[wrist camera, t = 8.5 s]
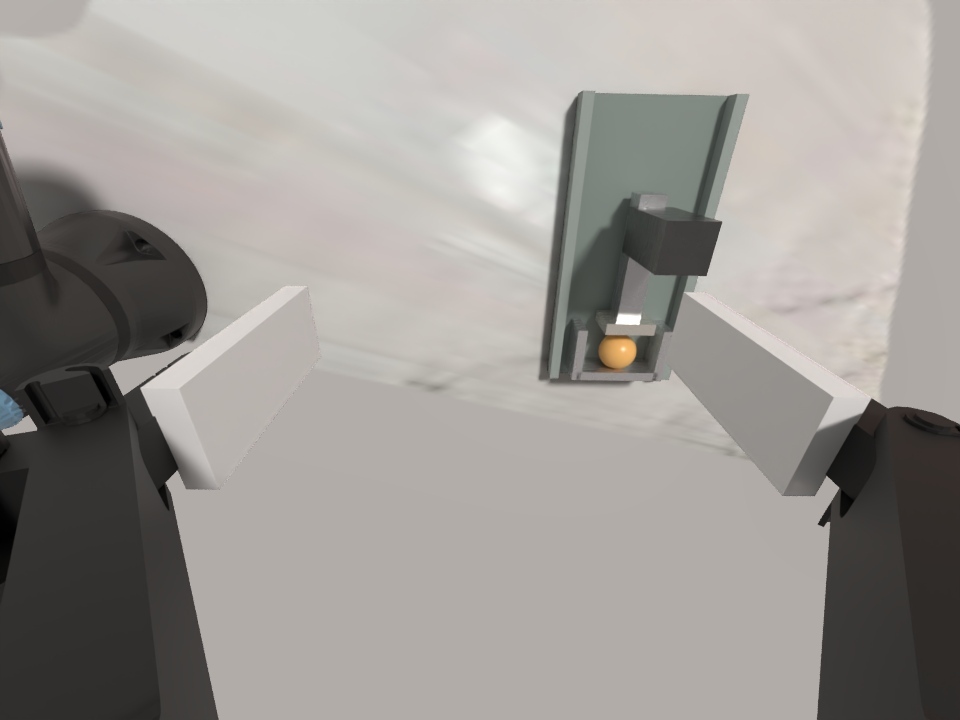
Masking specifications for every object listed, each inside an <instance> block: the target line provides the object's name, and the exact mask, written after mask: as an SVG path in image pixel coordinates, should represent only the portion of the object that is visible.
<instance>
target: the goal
mask: <svg viewBox="0 0 960 720" xmlns="http://www.w3.org/2000/svg"><path fill="white" fill-rule="evenodd" d="M652 321H653V322H654V323H655V324H656V325H657V326H656V330H655V334H654V336H648V338H647V343H646V347H645V351H644V355H643V359H634V360H633V362H632V363H631V364H630V365H628V366H626V367H624V368H621V369H614V368H610V367H608V366H606V365H605V364H604V363H603V362H602V361H601V359H600V358H584V355H585V348H586V342H587V336H588V330H587V328H586V326H585V325H584V323H583V321H582V320H581V319H580V318H572V322H571V329H570V337H569V344H568V351H567V359H566V367H567V370H568V373H569V375H570V378H571V380H608V381H661V378H662V375H663V371H664V367H665V364H666V362H665V360H666V356H667V352H668V349H669V345H670V341H671V337H672V334H673V331H672V330H671V329H670V328H669V327H668V326H667V325H666V324H665V323H664V322H663V321H662V320H652Z"/></svg>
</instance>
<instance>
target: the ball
mask: <svg viewBox="0 0 960 720" xmlns="http://www.w3.org/2000/svg"><path fill="white" fill-rule="evenodd" d="M598 353H599V357H600V359H601V361H602V362H603V363H604V364H605V365H606V366H608V367H610V368H614V369H621V368H624V367H626V366H628V365H630V364H631V363H632V362H633V360H634V359H635V356H636V345H635V343H634V341H633V340H632V339H631V338H630V337H629V336H628V335H608V336H606V337H605V338H604V339H603V340H602V341H601V343H600V345H599V350H598Z"/></svg>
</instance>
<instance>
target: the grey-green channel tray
mask: <svg viewBox="0 0 960 720" xmlns="http://www.w3.org/2000/svg"><path fill="white" fill-rule="evenodd" d="M748 98H749V94H735V95H730V96H707V95H658V94H609V93H595V91H582V92H580V93H579V94H578V99H577V108H576V117H575V126H574V135H573V144H572V153H571V162H570V171H569V180H568V189H567V198H566V207H565V216H564V225H563V234H562V243H561V251H560V260H559V269H558V278H557V287H556V296H555V305H554V314H553V323H552V332H551V341H550V350H549V359H548V368H547V371H548V374H549V377H550V378H559V372H561V373H568V370H567V367H566V359H567V351H568V344H569V337H570V329H571V322H572V318H580V319H581V320H582V321H583V323H584V325H585V326H586V328H587V330H588V336H587V342H586V348H585V355H584V358H600V357H599V353H598V350H599V345H600V343H601V341H602V340H603V339H604V338H605V337H606V336H608V335H605V334H604V332H603V331H602V329H601V328H600V326H599V325H598V323H597V322H596V320H595V318H596V312H597V310H610V309H611V304H612V298H613V293H614V287H615V282H616V276H617V271H618V265H619V260H620V254H621V249H622V243H623V238H624V233H625V227H626V222H627V216H628V211H629V205H630V200H631V194H632V192H655V193H661V194H665V195H668V197H667V202H666V206H665V207H675V208H678V209H682V210H685V211H688V212H692V213H695V214H698V215H702V216H705V217H708V218H712V219H714V218H715V214H716V211H717V207H718V204H719V200H720V197H721V193H722V190H723V186H724V183H725V179H726V175H727V172H728V168H729V165H730V161H731V158H732V154H733V151H734V147H735V144H736V140H737V137H738V133H739V129H740V126H741V122H742V119H743V115H744V112H745V108H746V105H747V101H748ZM697 278H698V276H676V275H654V274H652V273H650V278H649V282H648V287H647V291H646V296H645V300H644V305H643V309H642V311H643V312H644V313H645V314H646V315H647V316H648V317H649V318H650V319H651V320H662V321H663V322H664V323H665V324H666V325H667V326H668V327H669V328H670V329H671V330H672V331H673V330H674V326H675V323H676V319H677V315H678V312H679V308H680V304H681V300H682V297H683V293H684V292H694V289H695V285H696V282H697ZM628 336H629V337H630V338H631V339H632V340H633V341H634V343H635V345H636V356H635V359H643V355H644V351H645V347H646V343H647V338H648V336H646V335H628ZM671 370H672V369H671V368H670V367H669V365H668V364H667V363H666V364H665V367H664V371H663V375H662V378H661V380H669V377H670V374H671Z"/></svg>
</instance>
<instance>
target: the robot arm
mask: <svg viewBox="0 0 960 720" xmlns="http://www.w3.org/2000/svg"><path fill="white" fill-rule="evenodd" d="M0 129H3V127H2V124H1V122H0ZM206 309H207V300H206V293H205V289H204V285H203V282H202V280H201V277H200V275H199V273H198V271H197V269H196V268H195V266H194V264H193V263H192V261H191V260H190V259H189V257H188V256H187V255H186V253H185V252H184V251H183V250H182V249H181V248H180V247H179V246H178V245H177V244H176V243H175V242H174V241H173V240H172V239H171V238H170V237H168V236H167V235H166V234H165V233H163V232H162V231H160V230H159V229H158V228H156V227H154V226H153V225H151V224H149V223H147V222H145V221H143V220H141V219H139V218H137V217H134V216H131V215H128V214H125V213H121V212H116V211H108V210H96V211H89V212H83V213H77V214H72V215H68V216H65V217H62V218H60V219H58V220H56V221H54V222H52V223H51V224H49V225H48V226H47V227H45V228H44V229H42V230H41V231H39V232H38V233H36V232H35V229H34V226H33V223H32V220H31V217H30V215H29V212H28V209H27V206H26V203H25V200H24V197H23V194H22V191H21V189H20V186H19V183H18V180H17V177H16V174H15V171H14V168H13V166H12V163H11V160H10V157H9V154H8V151H7V148H6V145H5V143H4V140H3V137H2V134H1V131H0V720H218V715H217V710H216V705H215V701H214V696H213V691H212V686H211V682H210V677H209V672H208V668H207V663H206V658H205V653H204V648H203V644H202V639H201V634H200V629H199V625H198V620H197V615H196V610H195V606H194V601H193V596H192V591H191V587H190V582H189V577H188V572H187V568H186V563H185V558H184V553H183V549H182V544H181V540H180V535H179V530H178V525H177V520H176V516H175V511H174V506H173V501H172V497H171V493H170V491H169V489H168V487H167V485H166V483H165V482H166V481H167V480H168V479H169V478H170V477H171V476H172V475H173V474H174V473H175V472H176V471H177V470H178V472H179V474H180V476H181V479H182V481H183V483H184V485H185V487H186V489H212V490H220V489H221V487H222V486H223V485H224V483H225V482H226V481H227V479H228V478H229V477H230V475H231V474H232V473H233V472H234V470H235V469H236V467H237V466H238V465H239V463H240V462H241V461H242V460H243V458H244V457H245V456H246V454H247V453H248V452H249V450H250V449H251V447H253V445H254V444H255V443H256V441H257V440H258V439H259V437H260V436H261V435H262V433H263V432H264V431H265V429H266V428H267V427H268V426H269V424H270V423H271V422H272V420H273V419H274V418H275V416H276V415H277V414H278V412H279V411H280V410H281V408H282V407H283V406H284V405H285V403H286V402H287V401H288V399H289V398H290V397H291V395H292V394H293V393H294V391H295V390H296V389H297V388H298V386H299V385H300V383H301V382H302V381H303V380H304V378H305V377H306V376H307V374H308V373H309V372H310V370H311V369H312V368H313V367H314V365H315V364H316V363H317V361H318V360H319V359H320V357H321V354H320V349H319V344H318V338H317V333H316V328H315V323H314V318H313V313H312V308H311V303H310V298H309V292H308V287H307V286H284V287H283V288H281V289H280V290H279V291H277V292H276V293H274V294H273V295H271V296H270V297H269V298H267V299H266V300H264V301H263V302H262V303H260V304H259V305H257V306H256V307H254V308H253V309H252V310H250V311H249V312H247V313H246V314H245V315H243V316H242V317H240V318H239V319H237V320H236V321H235V322H233V323H232V324H230V325H229V326H228V327H226V328H225V329H223V330H222V331H220V332H219V333H218V334H216V335H215V336H213V337H212V338H210V339H209V340H208V341H206V342H205V343H203V344H202V345H201V346H199V347H198V348H196V349H195V350H193V351H191V352H189V353H187V354H184V355H182V356H180V357H179V358H178V359H176V360H175V361H173V362H172V363H170V364H169V365H168V367H165V368H163V369H162V370H160V371H159V372H157V373H156V376H152V377H150V378H149V379H147V380H146V381H144V382H143V383H142V384H140V385H139V386H137V387H136V388H134V389H133V390H131V391H130V392H129V393H127V394H126V395H124V396H123V395H122V393H121V391H120V389H119V387H118V385H117V383H116V381H115V379H114V376H113V374H112V372H111V370H110V369H109V366H111V365H112V364H114V363H116V362H117V361H122V360H127V359H132V358H137V357H142V356H147V355H152V354H157V353H162V352H165V351H168V350H170V349H173V348H175V347H177V346H178V345H180V344H182V343H183V342H185V341H186V340H188V339H189V338H191V337H192V336H193V335H194V334H195V333H196V332H197V331H198V330H199V329H200V327H201V325H202V323H203V321H204V318H205V315H206ZM665 362H666V363H667V364H668V365H669V367H670V368H671V369H672V370H673V371H674V372H675V373H676V375H677V376H678V377H679V378H680V379H681V380H682V381H683V383H684V384H685V385H686V386H687V387H688V388H689V389H690V391H691V392H692V393H693V394H694V395H695V396H696V397H697V399H698V400H699V401H700V402H701V403H702V404H703V405H704V407H705V408H706V409H707V410H708V411H709V412H710V413H711V415H712V416H713V417H714V418H715V419H716V420H717V421H718V423H719V424H720V425H721V426H722V427H723V428H724V429H725V431H726V432H727V433H728V434H729V435H730V436H731V438H732V439H733V440H734V441H735V442H736V443H737V444H738V446H739V447H740V448H741V449H742V450H743V451H744V452H745V454H746V455H747V456H748V457H749V458H750V459H751V460H752V462H753V463H754V464H755V465H756V466H757V467H758V468H759V470H760V471H761V472H762V473H763V474H764V475H765V476H766V478H767V479H768V480H769V481H770V482H771V483H772V484H773V486H774V487H775V488H776V489H777V490H778V491H779V492H780V493H781V495H782V496H815V495H816V493H817V491H818V490H819V488H820V486H821V485H822V483H823V481H824V479H825V478H826V476H828V477H829V478H830V479H831V480H832V481H833V482H834V483H835V484H836V485H837V486H838V487H839V490H838V492H837V493H836V495H835V497H834V498H833V500H832V502H831V503H830V505H829V506H828V508H827V510H826V511H825V513H824V515H823V516H822V518H821V519H820V521H819V523H818V525H820V526H823V527H824V526H825V524H826V523H827V522H830V536H829V551H828V565H827V581H826V595H825V610H824V626H823V640H822V654H821V670H820V685H819V699H818V714H817V720H960V425H959V424H958V423H956V422H954V421H951V420H949V419H947V418H945V417H943V416H941V415H938V414H935V413H932V412H927V411H924V410H919V409H914V408H909V407H892V408H889V409H888V408H886V407H884V406H883V405H881V404H880V403H878V402H877V401H875V400H874V399H872V398H871V397H869V396H868V395H866V394H865V393H863V392H862V391H860V390H858V389H857V388H855V387H854V386H852V385H851V384H849V383H847V382H846V381H844V380H843V379H841V378H840V377H838V376H836V375H835V374H833V373H832V372H830V371H828V370H827V369H825V368H824V367H822V366H821V365H819V364H817V363H816V362H814V361H813V360H811V359H810V358H808V357H806V356H805V355H803V354H802V353H800V352H799V351H797V350H795V349H794V348H792V347H791V346H789V345H788V344H786V343H784V342H783V341H781V340H780V339H778V338H776V337H775V336H773V335H772V334H770V333H769V332H767V331H765V330H764V329H762V328H761V327H759V326H758V325H756V324H754V323H753V322H751V321H750V320H748V319H747V318H745V317H743V316H742V315H740V314H739V313H737V312H735V311H734V310H732V309H731V308H729V307H728V306H726V305H724V304H723V303H721V302H720V301H718V300H717V299H715V298H713V297H712V296H710V295H709V294H707V293H706V292H684V293H683V297H682V300H681V304H680V308H679V312H678V315H677V319H676V323H675V326H674V330H673V334H672V337H671V341H670V345H669V349H668V352H667V356H666V360H665ZM27 415H29V416H30V417H31V419H32V420H33V422H34V423H35V425H36V427H37V431H32V432H26V433H19V434H14V435H7V436H5V435H4V434H3V433H2V431H1V430H3V429H6V428H9V427H12V426H14V425H16V424H17V423H18V422H20V421H21V420H22V418H24V417H26V416H27Z"/></svg>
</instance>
